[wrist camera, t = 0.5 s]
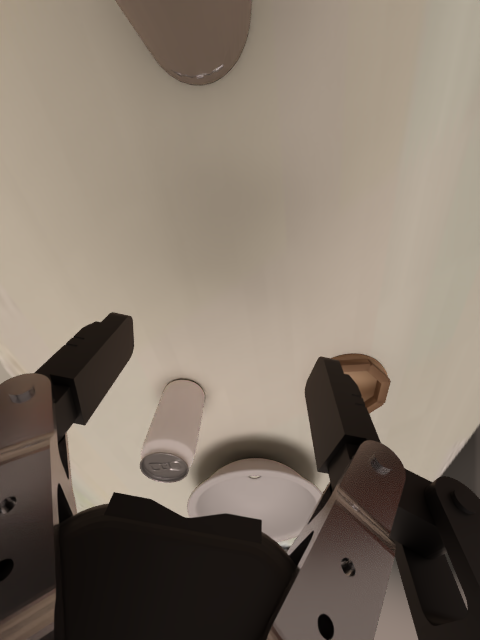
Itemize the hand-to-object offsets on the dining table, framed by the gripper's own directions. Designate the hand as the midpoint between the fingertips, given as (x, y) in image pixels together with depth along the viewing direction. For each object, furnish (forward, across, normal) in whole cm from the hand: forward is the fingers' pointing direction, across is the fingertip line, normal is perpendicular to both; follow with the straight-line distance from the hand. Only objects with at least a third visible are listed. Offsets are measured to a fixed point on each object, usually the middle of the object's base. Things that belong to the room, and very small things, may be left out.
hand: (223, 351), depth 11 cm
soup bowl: (+18, -11, +44) cm, 49 cm away
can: (+18, +5, +26) cm, 32 cm away
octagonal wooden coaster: (+20, -19, +19) cm, 34 cm away
